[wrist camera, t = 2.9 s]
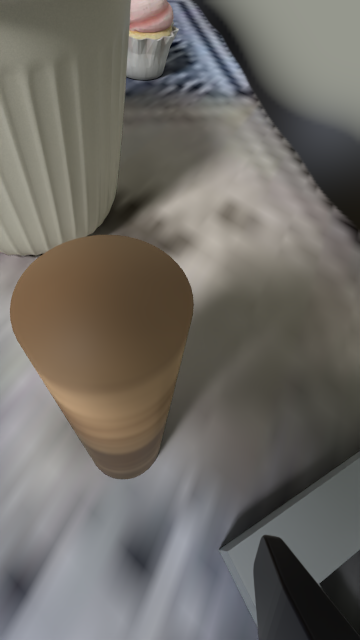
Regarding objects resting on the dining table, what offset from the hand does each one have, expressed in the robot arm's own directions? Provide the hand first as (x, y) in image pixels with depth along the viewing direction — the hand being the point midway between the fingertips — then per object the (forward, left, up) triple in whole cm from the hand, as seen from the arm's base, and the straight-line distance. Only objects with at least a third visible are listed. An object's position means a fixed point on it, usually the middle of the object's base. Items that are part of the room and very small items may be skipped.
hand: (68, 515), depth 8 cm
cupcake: (+46, -24, -11) cm, 53 cm away
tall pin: (+3, -3, -11) cm, 12 cm away
